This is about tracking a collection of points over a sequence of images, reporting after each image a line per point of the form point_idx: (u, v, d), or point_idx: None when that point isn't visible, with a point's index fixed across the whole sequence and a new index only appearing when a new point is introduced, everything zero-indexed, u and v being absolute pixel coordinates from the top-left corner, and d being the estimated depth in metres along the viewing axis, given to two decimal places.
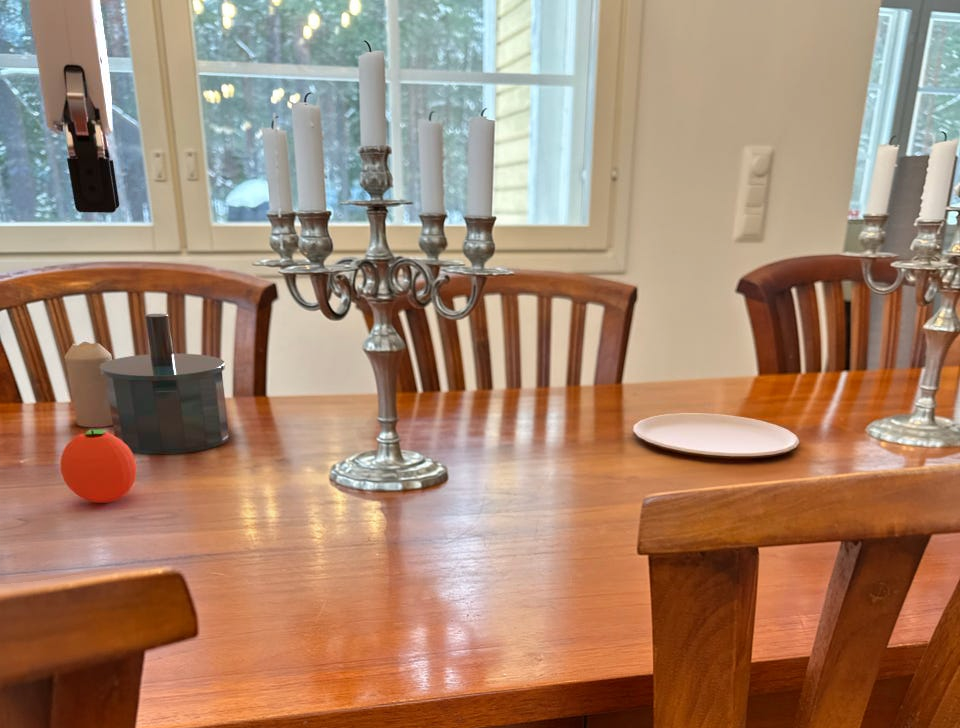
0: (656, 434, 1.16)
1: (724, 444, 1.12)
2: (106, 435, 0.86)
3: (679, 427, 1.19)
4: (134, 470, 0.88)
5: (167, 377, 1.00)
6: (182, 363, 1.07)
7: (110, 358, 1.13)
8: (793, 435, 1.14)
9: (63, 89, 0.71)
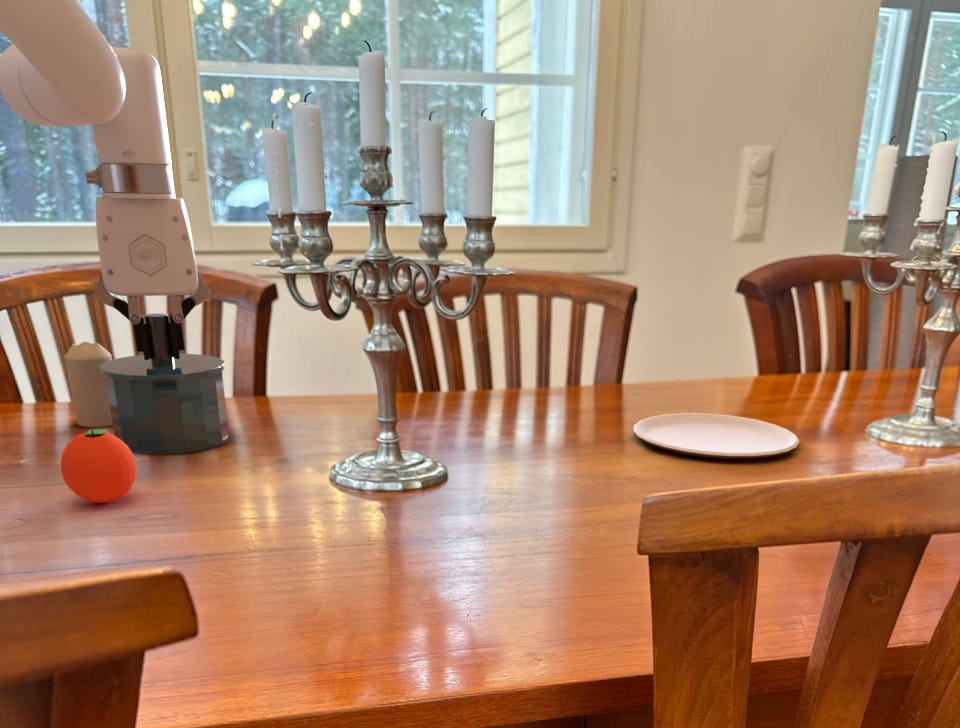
0: (656, 434, 1.16)
1: (724, 444, 1.12)
2: (106, 435, 0.86)
3: (679, 427, 1.19)
4: (134, 470, 0.88)
5: (167, 377, 1.00)
6: (182, 363, 1.07)
7: (110, 358, 1.13)
8: (793, 435, 1.14)
9: (196, 266, 1.02)
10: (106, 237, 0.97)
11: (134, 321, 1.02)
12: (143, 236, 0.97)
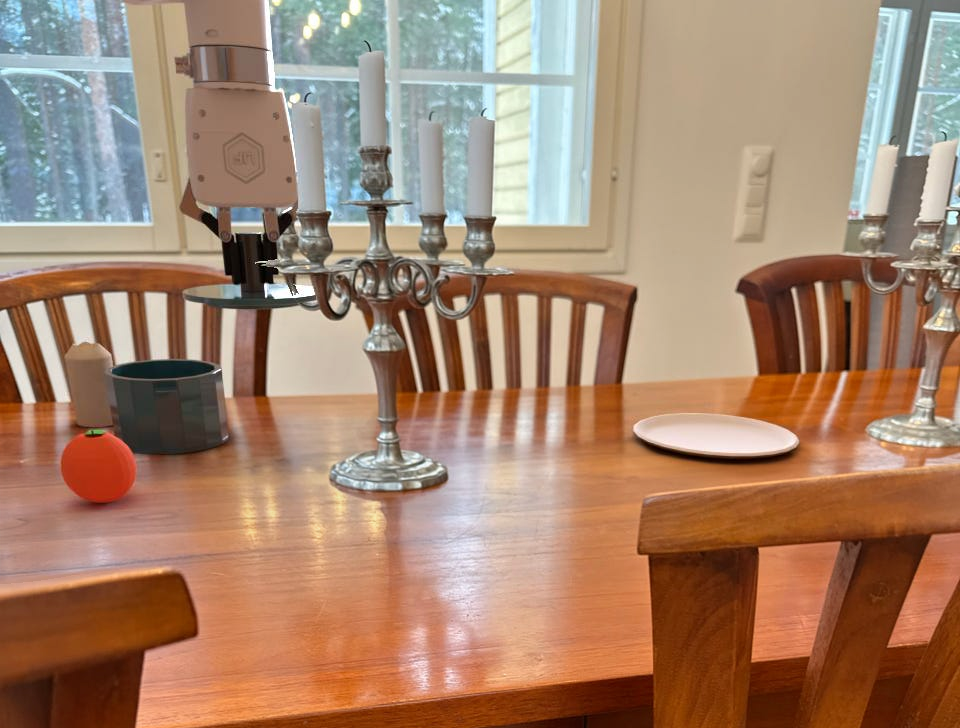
0: (656, 434, 1.16)
1: (724, 444, 1.12)
2: (106, 435, 0.86)
3: (679, 427, 1.19)
4: (134, 470, 0.88)
5: (264, 301, 0.87)
6: (275, 290, 0.93)
7: (110, 358, 1.13)
8: (793, 435, 1.14)
9: None
10: (197, 135, 0.83)
11: (224, 238, 0.89)
12: (240, 135, 0.84)
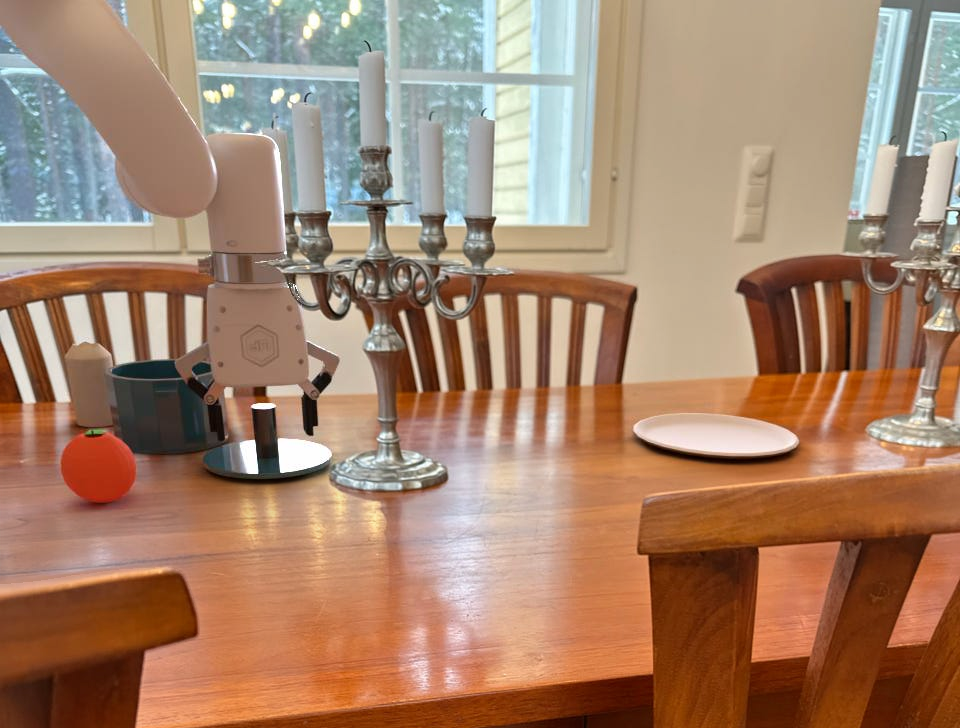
0: (656, 434, 1.16)
1: (724, 444, 1.12)
2: (106, 435, 0.86)
3: (679, 427, 1.19)
4: (134, 470, 0.88)
5: (278, 474, 0.95)
6: (287, 454, 1.01)
7: (110, 358, 1.13)
8: (793, 435, 1.14)
9: None
10: (218, 328, 0.91)
11: (207, 400, 0.95)
12: (256, 326, 0.92)
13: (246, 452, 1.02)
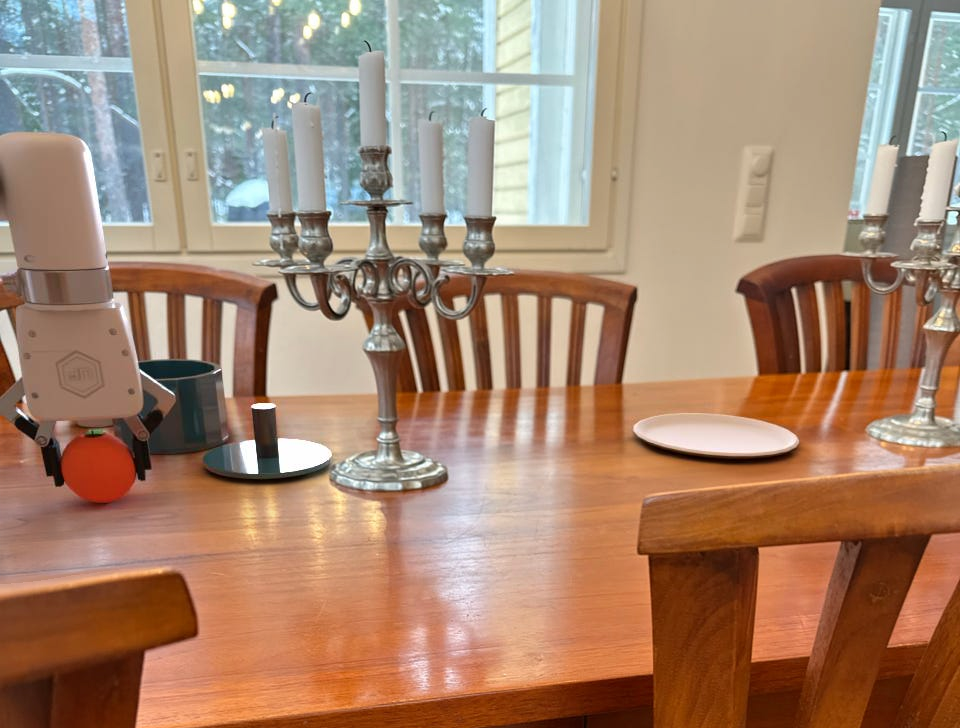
0: (656, 434, 1.16)
1: (724, 444, 1.12)
2: (106, 435, 0.86)
3: (679, 427, 1.19)
4: (134, 470, 0.88)
5: (278, 474, 0.95)
6: (287, 454, 1.01)
7: None
8: (793, 435, 1.14)
9: (141, 382, 0.85)
10: (28, 355, 0.80)
11: (40, 442, 0.85)
12: (74, 352, 0.81)
13: (246, 452, 1.02)
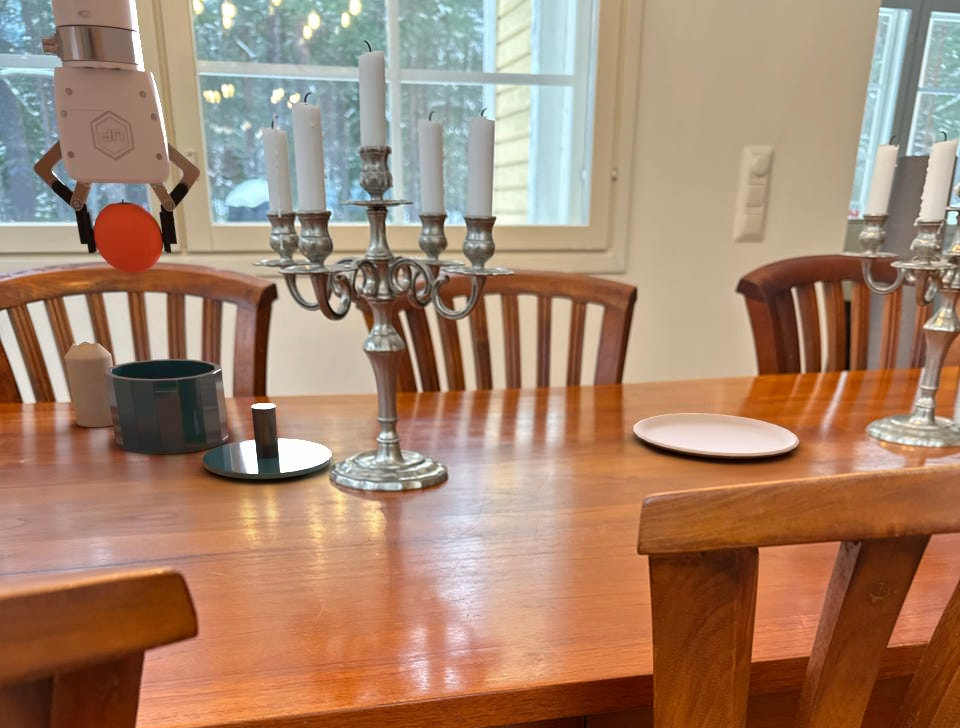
0: (656, 434, 1.16)
1: (724, 444, 1.12)
2: (135, 204, 0.93)
3: (679, 427, 1.19)
4: (161, 241, 0.95)
5: (278, 474, 0.95)
6: (287, 454, 1.01)
7: (110, 358, 1.13)
8: (793, 435, 1.14)
9: (168, 152, 0.92)
10: (65, 113, 0.87)
11: (75, 206, 0.91)
12: (107, 113, 0.87)
13: (246, 452, 1.02)
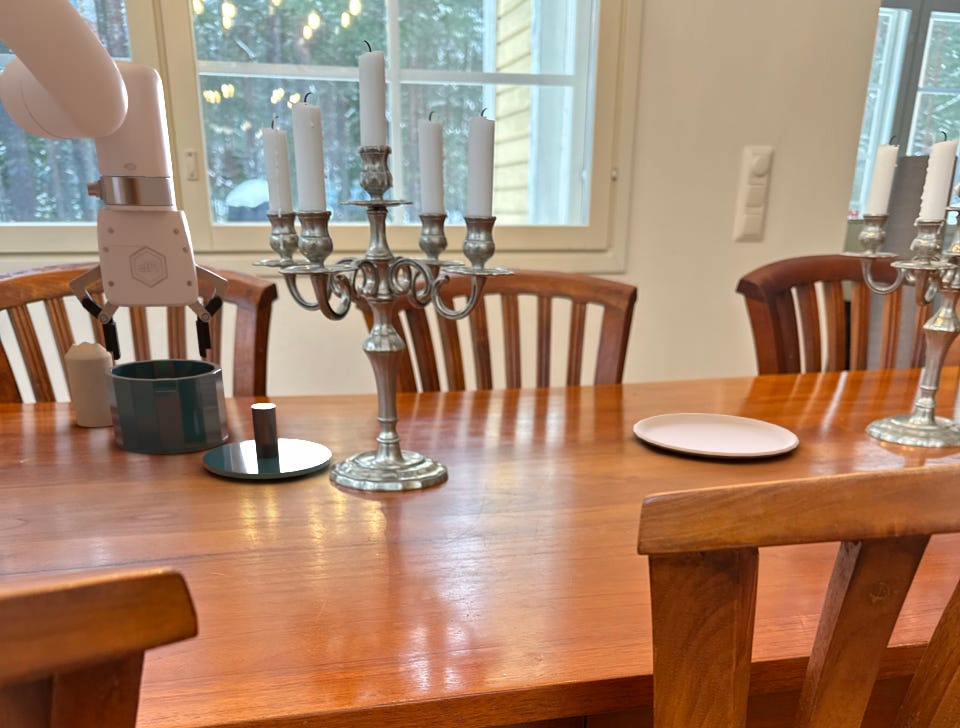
0: (656, 434, 1.16)
1: (724, 444, 1.12)
2: None
3: (679, 427, 1.19)
4: None
5: (278, 474, 0.95)
6: (287, 454, 1.01)
7: (110, 358, 1.13)
8: (793, 435, 1.14)
9: (197, 277, 1.02)
10: (107, 249, 0.97)
11: (101, 320, 1.01)
12: (144, 248, 0.98)
13: (246, 452, 1.02)
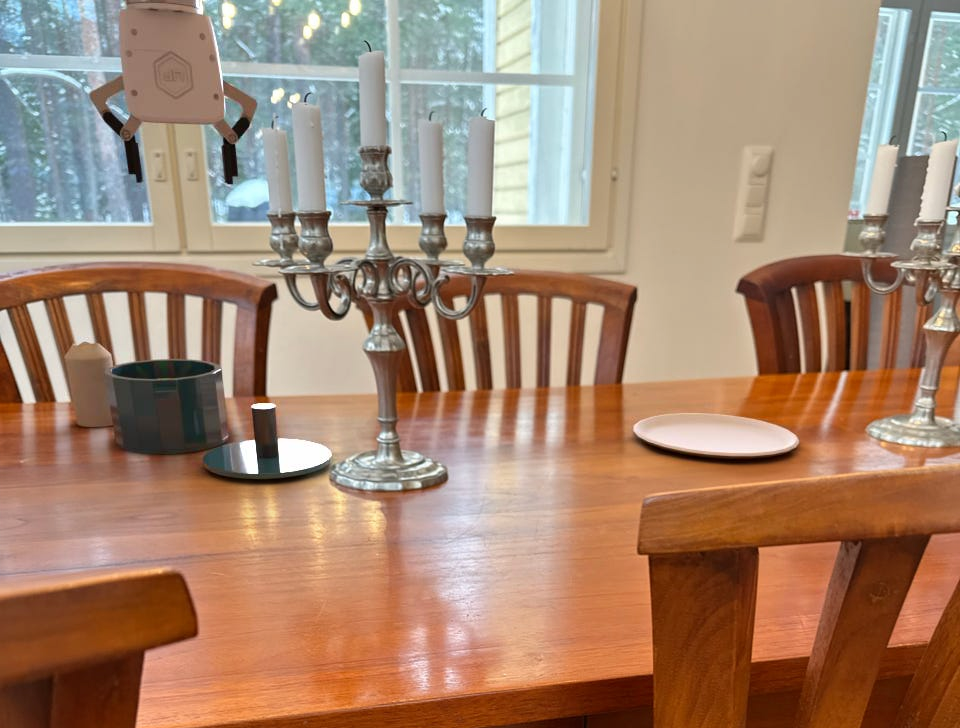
0: (656, 434, 1.16)
1: (724, 444, 1.12)
2: None
3: (679, 427, 1.19)
4: None
5: (278, 474, 0.95)
6: (287, 454, 1.01)
7: (110, 358, 1.13)
8: (793, 435, 1.14)
9: (223, 93, 0.97)
10: (130, 53, 0.92)
11: (123, 136, 0.96)
12: (169, 54, 0.93)
13: (246, 452, 1.02)
